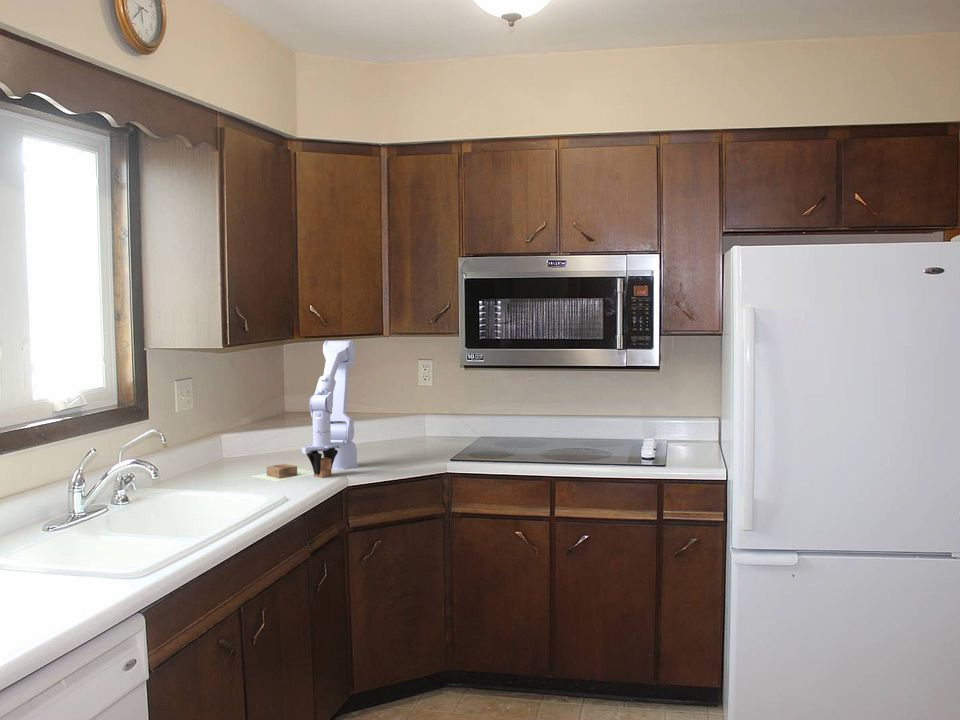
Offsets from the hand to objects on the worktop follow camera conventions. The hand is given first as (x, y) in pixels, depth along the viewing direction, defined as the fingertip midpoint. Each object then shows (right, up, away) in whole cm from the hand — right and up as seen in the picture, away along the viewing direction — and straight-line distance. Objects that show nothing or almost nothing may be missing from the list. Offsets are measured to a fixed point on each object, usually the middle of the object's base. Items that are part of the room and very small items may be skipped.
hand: (322, 472), depth 269 cm
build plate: (-12, -1, +3) cm, 13 cm away
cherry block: (0, -1, 0) cm, 1 cm away
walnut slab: (-14, -1, +1) cm, 14 cm away
